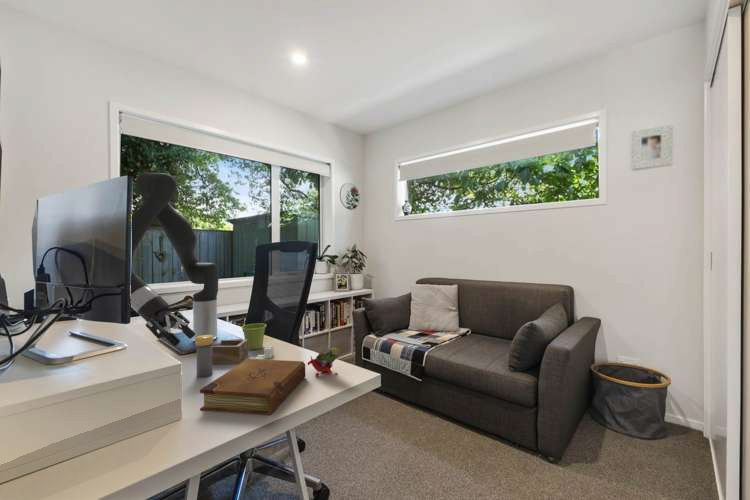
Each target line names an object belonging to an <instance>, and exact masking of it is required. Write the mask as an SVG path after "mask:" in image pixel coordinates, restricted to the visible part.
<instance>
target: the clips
mask: <svg viewBox="0 0 750 500" xmlns="http://www.w3.org/2000/svg"><path fill="white" fill-rule="evenodd" d="M273 356H274V346H272V345H269V346H268V345H267V346H266V347H265V348H264V349H263V354H257V355H256V357H254V359H265V360H266V359H271V358H272V357H273Z"/></svg>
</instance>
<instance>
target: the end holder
mask: <svg viewBox="0 0 750 500" xmlns="http://www.w3.org/2000/svg"><path fill="white" fill-rule="evenodd" d="M248 356H249V350H248V339H245V338H244V339H221V340H220V345H212V365H239V364H241V363H242V362H244V361H245V359H246V358H247V357H248Z"/></svg>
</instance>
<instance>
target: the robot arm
mask: <svg viewBox="0 0 750 500" xmlns="http://www.w3.org/2000/svg"><path fill="white" fill-rule="evenodd" d="M135 186H136V190H137V192H138V194H139V195H140V197H141V198H142V199H143V201H144V203H142V205H141V206H140V207H138V208H137V210H134V212H132V213H131V214H132V259H133V257H134V254H135V251H136V249H137V248H138V246H139V245H140V243H141V241H142V239H143V237H144V236H145V234H146V233H147V230H148V229H149V228H150V226H151V225H152V224H153V222H154V220H155V219H156V220H157V222H158V223H159V225H160V226H161V228H162V229H163V231H164V233H165V236H166V238H167V239H168V241H169V242H170V244H171V246H172V247H173V249H174V250H175V253H176V254H177V256H178V258H179V260H180V262H181V264H182V267H183V269H184V272H185V275H186V276H187V278H188V280H189V281H190V282H191V283H192V284H194V285H203V289H201V290H200V291H198V292H195V293H194V294H193V295H192V316H193V318H192V322H193V323H192V325H193V326H192V328H193V329H191V328H190V327H189V324H190V323H191V322H190V320H189V319H188V318H187V317H185V316H184V315H183V314H182V313H181V312H179V310H175V311H174V312H171V311H170V306H171V305H170V304H169V303H168V302H167V301H166V300H165V299H164V298H162V296H161V295H160V294H159V293H158V292H157V291H156V290H155V289H153V288H152V287H150V285H148V283H146V282H145V281H144V280H143V279H142V278H141V277H139V276H138V275H137V274H136V273H134V272H133V271H132V275H131V306H130V307H131V309H133V310H134V311H135V312H136V313H137V314H138V315H139V316H140V317H141V318H142V319H143V320H144V321H145V322H146V324H145V327H146V328H147V329H148V330H149V331H150V332H151V333H152V334H153V335H154V336H155V337H156V338H157V339H159V340H160V339H161V338H163V339H164V340H165V339H166V340H167V341H168V342H169V343H170V344H171V346H173V347H177V346H178V345H179V344H180V343H181V339H180V338H178V336H177V335H176V334H175V333H173V332H172V330H171V329H173V330H174V329H175V330H179V331H181V332H182V334H184V335H185V336H186V337H187V338H188V339H192V338H193V337H194V338H195V337H198V336H202V335H213V337H215V336H217V337H218V298H217V297H218V292H219V276H220V275H219V273H220V272H219V267H218V265H217V264H215V262H199V261H198V259H197V257H196V255H195V249H196V245H197V240H198V238H197V234H196V232H195V230H194V229H193V227H192V225H191V223H190V221H188V219H187V218H186V217H184V215H182V214H181V213H180V212H179V211H177V210H176V209H175V208H174V207H173V206H172V205H171V203H170V201H171V200H172V199H173V197H174V196H175V194H176V192H177V189H178V186H177V182H176V179H175V178H174V177H173V176H172V175H171V174H168V173H165V172H164V173H162V172H142V173H140V174H139V175H137V177H136V180H135Z"/></svg>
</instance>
